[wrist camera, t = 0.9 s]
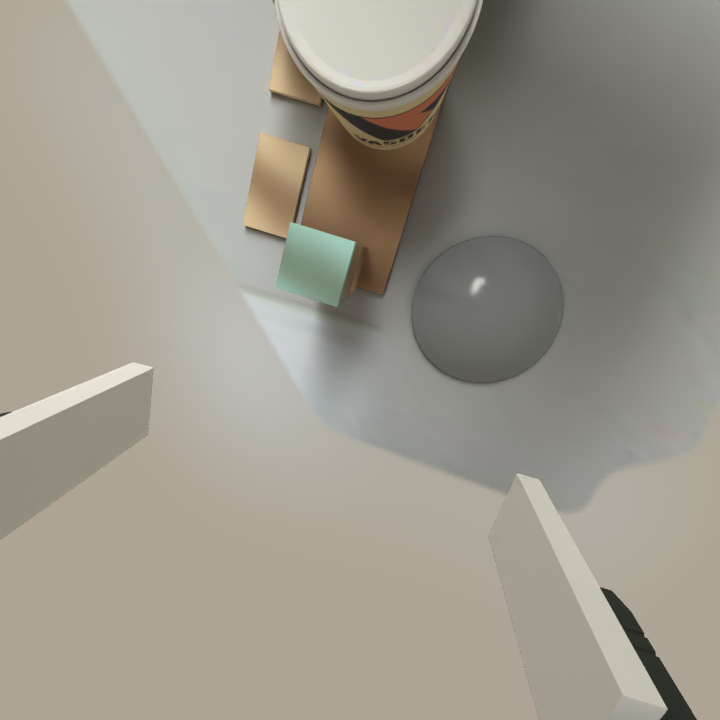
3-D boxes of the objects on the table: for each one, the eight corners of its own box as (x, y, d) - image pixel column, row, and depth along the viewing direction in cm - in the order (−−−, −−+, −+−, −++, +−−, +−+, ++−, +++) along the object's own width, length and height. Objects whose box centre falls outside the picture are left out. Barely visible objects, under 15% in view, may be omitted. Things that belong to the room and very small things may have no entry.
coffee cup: (345, 180, 29) (307, 132, 18) (307, 45, 27) (236, -110, 16) (466, 138, 27) (511, 54, 16) (436, -10, 25) (462, -230, 14)
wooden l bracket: (355, -1, 26) (326, -154, 17) (464, 31, 26) (501, -105, 16) (291, 271, 32) (241, 277, 22) (381, 299, 32) (371, 318, 22)
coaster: (440, 217, 30) (440, 216, 29) (587, 262, 29) (590, 262, 29) (393, 356, 33) (393, 358, 33) (525, 398, 33) (526, 400, 32)
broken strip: (292, -19, 27) (233, -162, 18) (345, -4, 27) (315, -139, 17) (245, 225, 31) (180, 212, 22) (290, 239, 31) (244, 232, 22)
